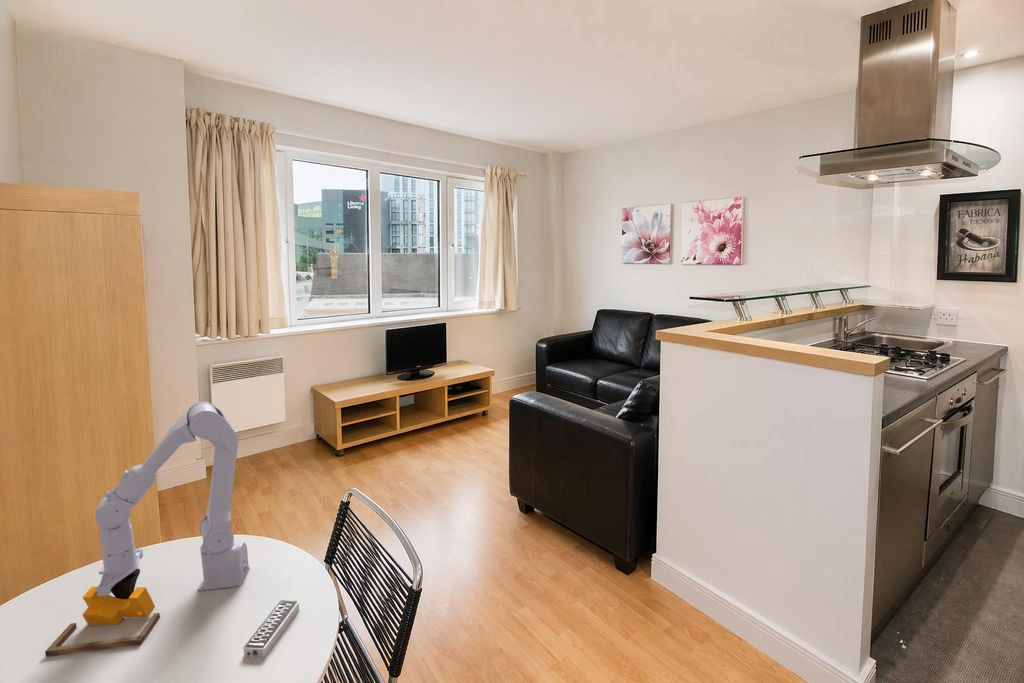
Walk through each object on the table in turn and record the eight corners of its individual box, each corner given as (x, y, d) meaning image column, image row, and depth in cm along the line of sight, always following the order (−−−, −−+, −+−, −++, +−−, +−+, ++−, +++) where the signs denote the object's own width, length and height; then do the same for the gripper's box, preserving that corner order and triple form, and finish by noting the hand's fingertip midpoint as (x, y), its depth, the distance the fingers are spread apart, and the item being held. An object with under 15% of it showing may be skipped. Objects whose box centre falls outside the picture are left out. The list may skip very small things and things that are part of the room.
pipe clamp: (87, 624, 111) (76, 604, 108) (102, 605, 115) (91, 586, 112) (142, 625, 110) (131, 605, 107) (155, 606, 114) (145, 587, 111)
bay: (160, 617, 113) (159, 612, 113) (141, 644, 105) (141, 639, 105) (71, 628, 109) (70, 623, 109) (45, 656, 102) (44, 651, 102)
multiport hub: (300, 609, 116) (299, 600, 115) (264, 659, 102) (263, 649, 101) (281, 608, 116) (280, 599, 116) (243, 658, 102) (242, 647, 102)
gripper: (116, 533, 119) (123, 586, 121) (76, 570, 105) (85, 629, 107) (150, 530, 120) (156, 583, 123) (115, 566, 106) (123, 625, 109)
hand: (125, 604), depth 115 cm, fingers closed
